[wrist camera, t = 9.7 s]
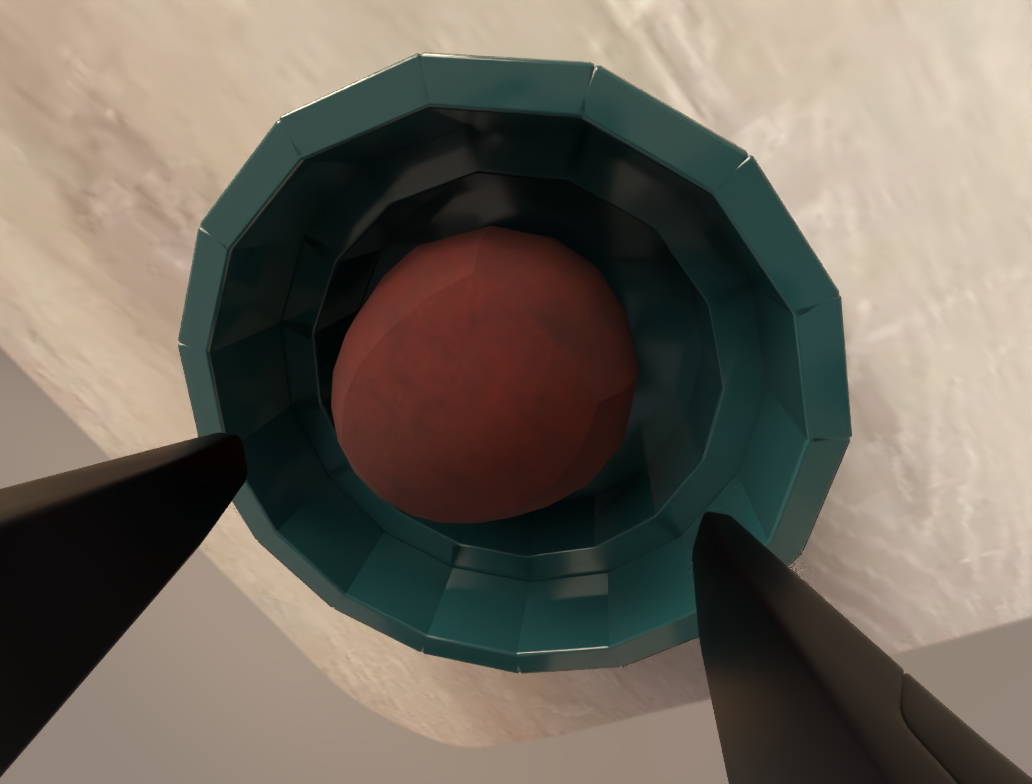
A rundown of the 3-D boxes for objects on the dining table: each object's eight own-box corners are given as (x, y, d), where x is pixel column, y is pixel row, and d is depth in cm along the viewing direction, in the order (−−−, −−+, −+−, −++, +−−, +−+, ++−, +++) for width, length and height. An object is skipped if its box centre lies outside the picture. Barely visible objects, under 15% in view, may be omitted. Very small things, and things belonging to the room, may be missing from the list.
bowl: (694, 561, 18) (733, 720, 13) (336, 498, 20) (237, 615, 15) (827, 127, 12) (1003, 84, 7) (298, 90, 14) (105, 33, 9)
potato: (348, 361, 17) (195, 469, 10) (507, 160, 13) (422, 140, 7) (503, 493, 18) (450, 663, 12) (685, 339, 15) (749, 460, 8)
